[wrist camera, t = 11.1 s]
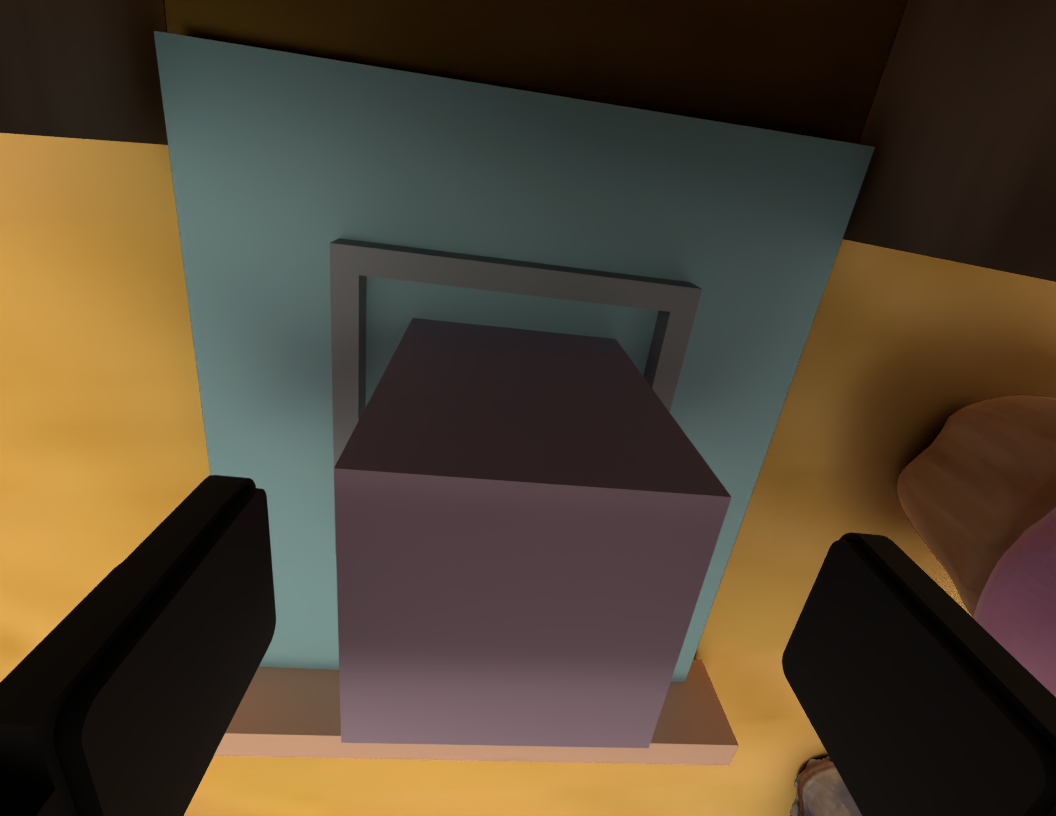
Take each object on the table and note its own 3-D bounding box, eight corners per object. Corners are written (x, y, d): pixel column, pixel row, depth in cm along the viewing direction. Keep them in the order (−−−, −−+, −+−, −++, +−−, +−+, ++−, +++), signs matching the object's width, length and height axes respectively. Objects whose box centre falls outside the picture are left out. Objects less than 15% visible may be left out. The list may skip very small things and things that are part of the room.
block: (615, 339, 13) (731, 497, 7) (582, 505, 15) (648, 748, 9) (412, 317, 13) (334, 468, 6) (405, 493, 15) (340, 743, 8)
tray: (130, 33, 11) (-2, -16, 8) (885, 154, 13) (1001, 150, 10) (219, 660, 18) (167, 755, 15) (694, 678, 20) (729, 765, 17)
